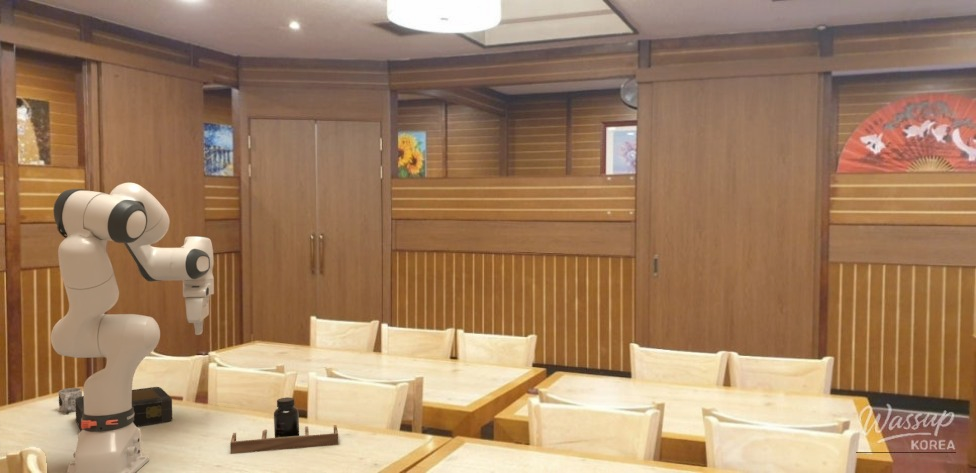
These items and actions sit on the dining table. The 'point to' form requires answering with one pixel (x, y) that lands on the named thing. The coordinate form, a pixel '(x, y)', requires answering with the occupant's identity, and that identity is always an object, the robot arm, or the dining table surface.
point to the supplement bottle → (286, 418)
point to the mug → (68, 399)
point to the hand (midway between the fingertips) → (198, 334)
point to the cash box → (142, 407)
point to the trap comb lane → (283, 442)
